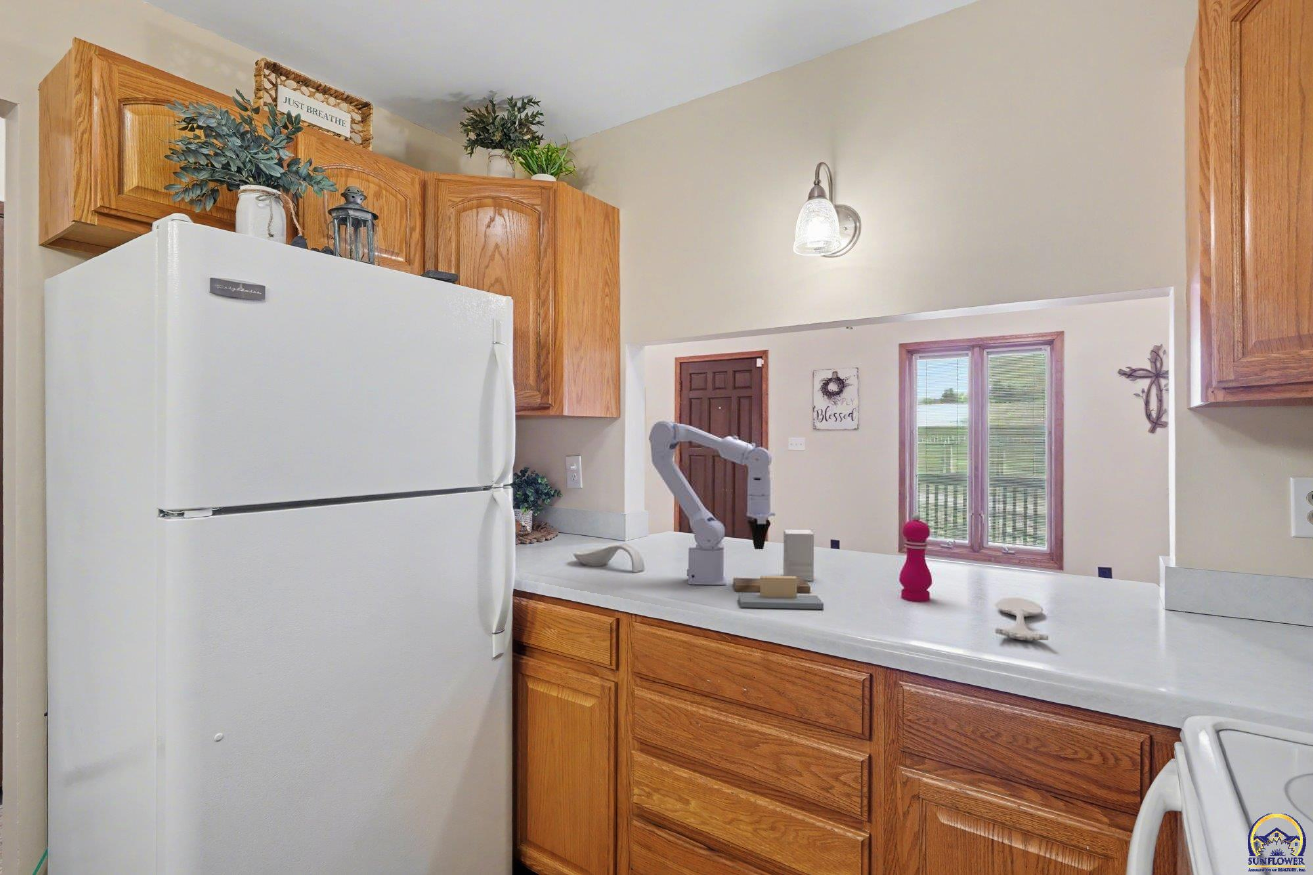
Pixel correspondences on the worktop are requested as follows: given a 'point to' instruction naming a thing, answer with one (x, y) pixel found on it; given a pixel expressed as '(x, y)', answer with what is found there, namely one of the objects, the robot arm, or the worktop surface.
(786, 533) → the supplement box
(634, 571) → the spoon rest
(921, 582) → the pepper mill
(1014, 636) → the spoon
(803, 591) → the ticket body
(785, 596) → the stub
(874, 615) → the worktop surface
